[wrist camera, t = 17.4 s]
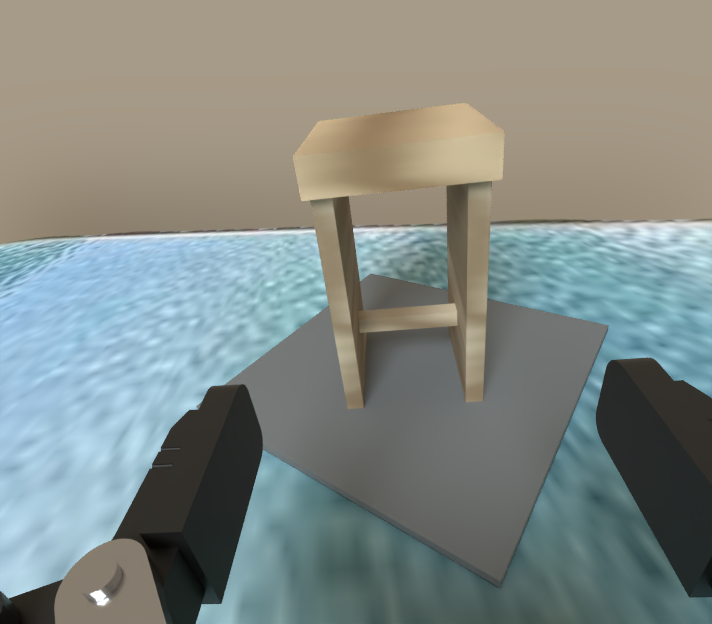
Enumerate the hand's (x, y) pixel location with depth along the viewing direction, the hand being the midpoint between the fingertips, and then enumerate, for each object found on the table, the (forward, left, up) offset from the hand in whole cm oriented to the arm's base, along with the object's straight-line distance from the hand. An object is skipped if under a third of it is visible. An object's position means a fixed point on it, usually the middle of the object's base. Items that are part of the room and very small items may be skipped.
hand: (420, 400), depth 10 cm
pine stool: (-9, -6, -8) cm, 13 cm away
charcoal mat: (-9, -6, -8) cm, 14 cm away
